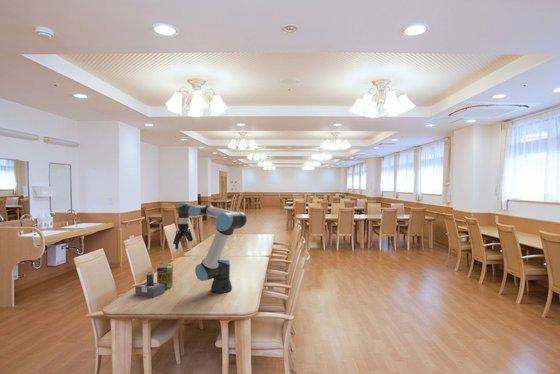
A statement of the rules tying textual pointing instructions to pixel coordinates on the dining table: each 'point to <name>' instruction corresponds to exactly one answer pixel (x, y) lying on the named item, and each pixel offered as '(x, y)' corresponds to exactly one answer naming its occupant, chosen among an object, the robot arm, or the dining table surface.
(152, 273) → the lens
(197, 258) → the dining table surface
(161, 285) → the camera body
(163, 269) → the protein box
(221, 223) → the robot arm
